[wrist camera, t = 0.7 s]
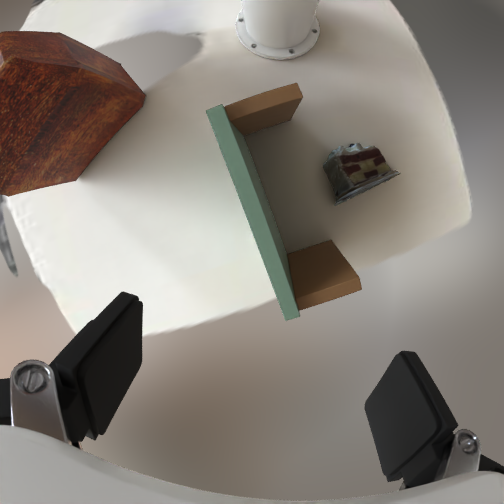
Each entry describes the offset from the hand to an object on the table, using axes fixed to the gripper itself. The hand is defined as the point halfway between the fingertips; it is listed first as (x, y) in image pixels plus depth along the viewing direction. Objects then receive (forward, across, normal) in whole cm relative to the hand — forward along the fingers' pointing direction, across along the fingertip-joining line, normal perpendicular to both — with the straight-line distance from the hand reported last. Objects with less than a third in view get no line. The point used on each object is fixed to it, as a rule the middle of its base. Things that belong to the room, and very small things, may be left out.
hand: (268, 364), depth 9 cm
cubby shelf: (+33, -2, -3) cm, 33 cm away
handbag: (+33, +32, -9) cm, 47 cm away
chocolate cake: (+33, -11, -9) cm, 36 cm away
